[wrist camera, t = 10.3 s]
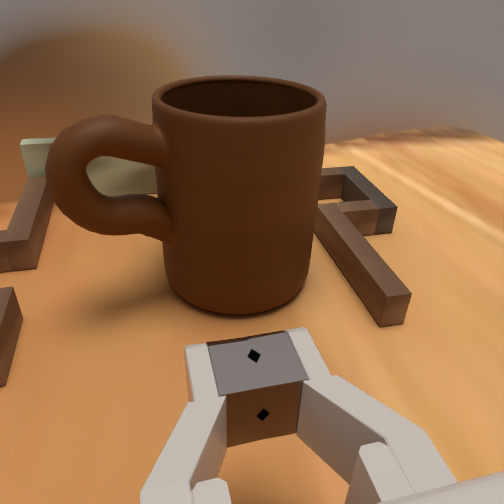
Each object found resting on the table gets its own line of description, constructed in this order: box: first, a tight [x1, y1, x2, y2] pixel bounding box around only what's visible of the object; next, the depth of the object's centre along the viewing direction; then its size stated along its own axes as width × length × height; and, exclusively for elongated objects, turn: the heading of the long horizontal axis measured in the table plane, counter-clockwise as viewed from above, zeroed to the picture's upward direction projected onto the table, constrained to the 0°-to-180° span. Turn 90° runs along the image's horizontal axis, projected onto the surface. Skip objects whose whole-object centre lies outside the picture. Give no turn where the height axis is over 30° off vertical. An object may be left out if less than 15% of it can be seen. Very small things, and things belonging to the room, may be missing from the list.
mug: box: [45, 75, 326, 315], centre depth 21 cm, size 12×8×9 cm, turn 120°
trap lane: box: [0, 138, 412, 386], centre depth 25 cm, size 26×17×4 cm, turn 104°
